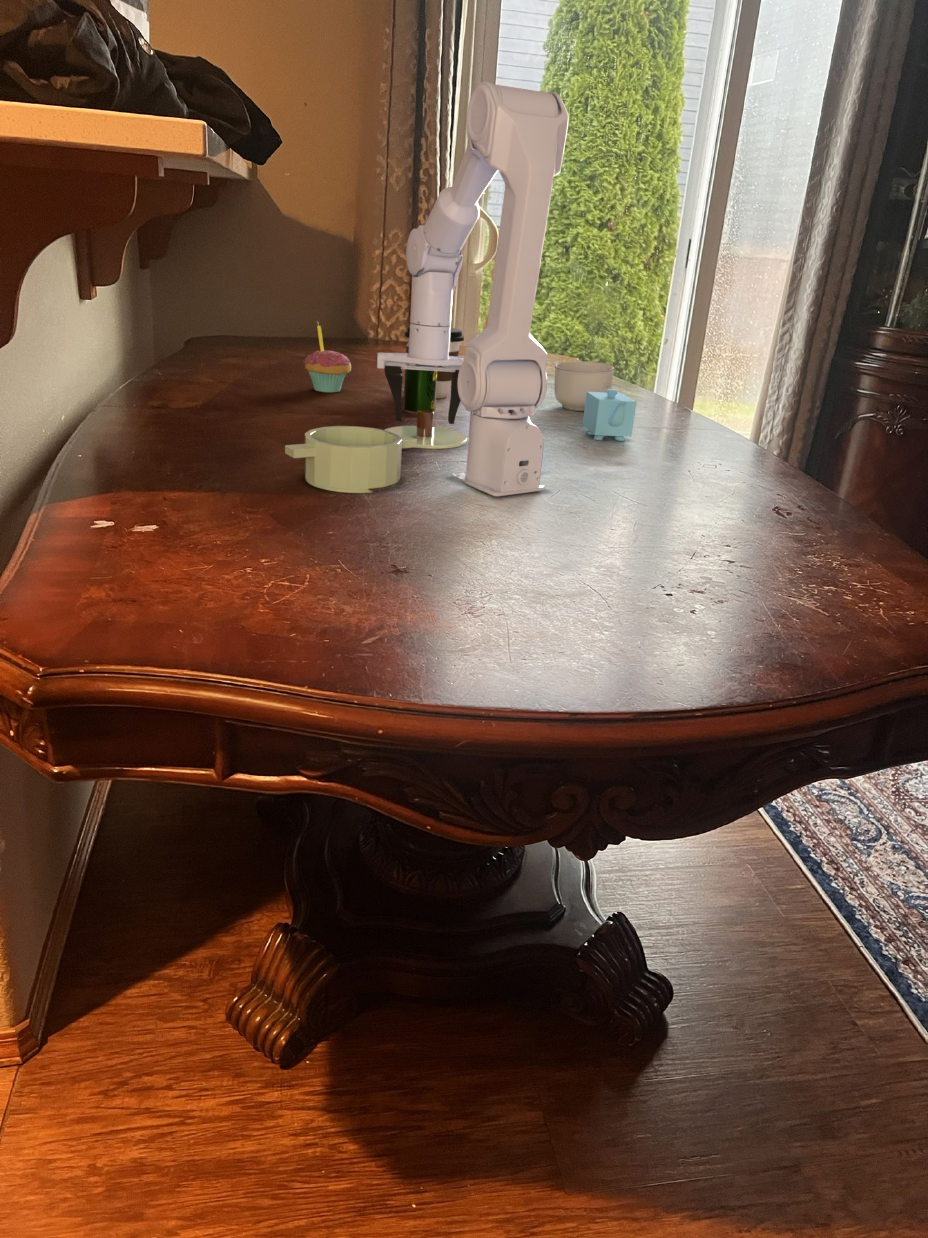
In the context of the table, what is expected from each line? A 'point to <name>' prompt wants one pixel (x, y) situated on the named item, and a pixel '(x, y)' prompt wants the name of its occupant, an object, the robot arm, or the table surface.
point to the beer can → (419, 389)
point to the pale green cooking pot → (351, 457)
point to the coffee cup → (442, 376)
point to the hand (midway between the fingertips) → (425, 421)
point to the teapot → (609, 414)
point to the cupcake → (327, 368)
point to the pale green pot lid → (430, 433)
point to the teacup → (580, 382)
